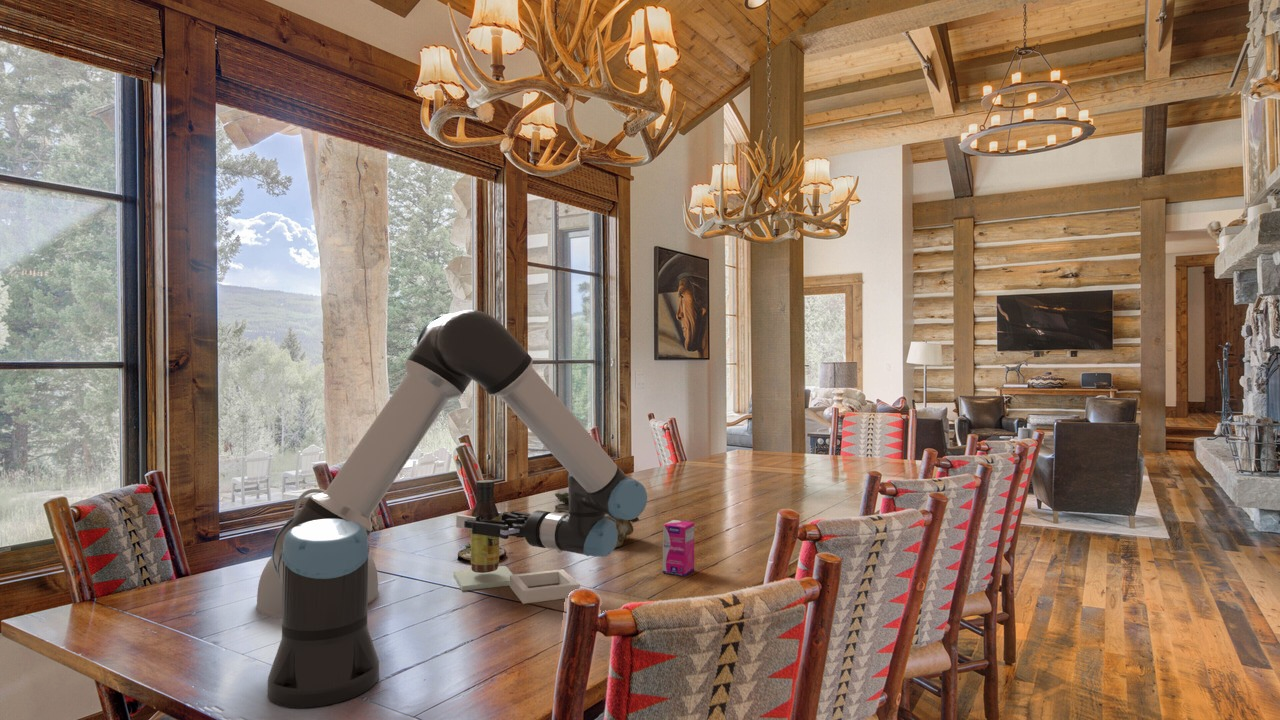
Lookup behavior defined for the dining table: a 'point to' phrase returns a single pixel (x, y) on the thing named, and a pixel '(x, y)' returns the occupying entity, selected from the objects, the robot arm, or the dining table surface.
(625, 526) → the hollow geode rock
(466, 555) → the burger
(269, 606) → the kettle
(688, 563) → the supplement box
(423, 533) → the dining table surface
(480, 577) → the plate
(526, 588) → the pocket frame
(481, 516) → the sauce bottle
